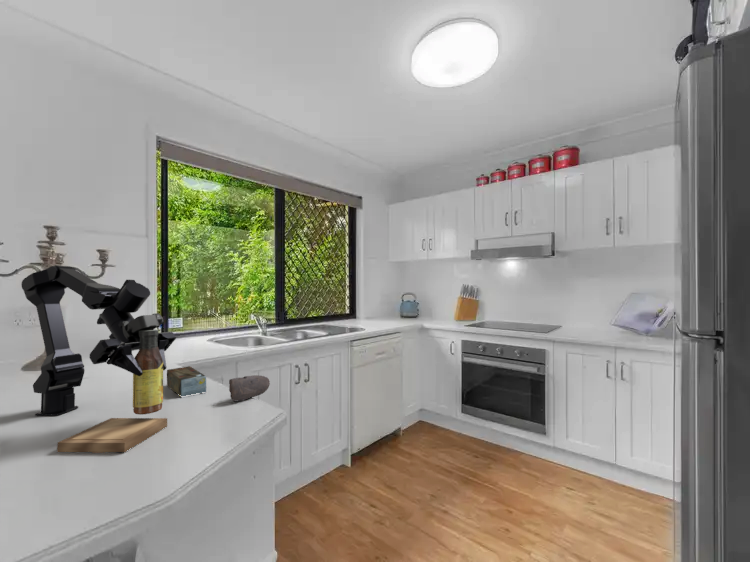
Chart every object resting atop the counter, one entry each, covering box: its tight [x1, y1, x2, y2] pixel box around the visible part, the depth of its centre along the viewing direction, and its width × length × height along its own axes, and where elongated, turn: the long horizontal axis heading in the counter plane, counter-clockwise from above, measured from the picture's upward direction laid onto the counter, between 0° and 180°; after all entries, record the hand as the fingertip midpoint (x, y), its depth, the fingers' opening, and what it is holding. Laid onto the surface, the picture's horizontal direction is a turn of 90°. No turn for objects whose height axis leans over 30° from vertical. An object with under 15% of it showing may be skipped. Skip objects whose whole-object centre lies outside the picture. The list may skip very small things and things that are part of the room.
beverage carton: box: [166, 365, 207, 396], centre depth 117 cm, size 8×19×7 cm, turn 43°
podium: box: [56, 417, 168, 454], centre depth 78 cm, size 14×14×2 cm
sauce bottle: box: [132, 329, 164, 415], centre depth 85 cm, size 6×6×20 cm
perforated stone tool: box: [228, 374, 271, 402], centre depth 108 cm, size 15×5×7 cm, turn 144°
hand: (153, 372), depth 85 cm, fingers closed on sauce bottle, 6 cm apart
